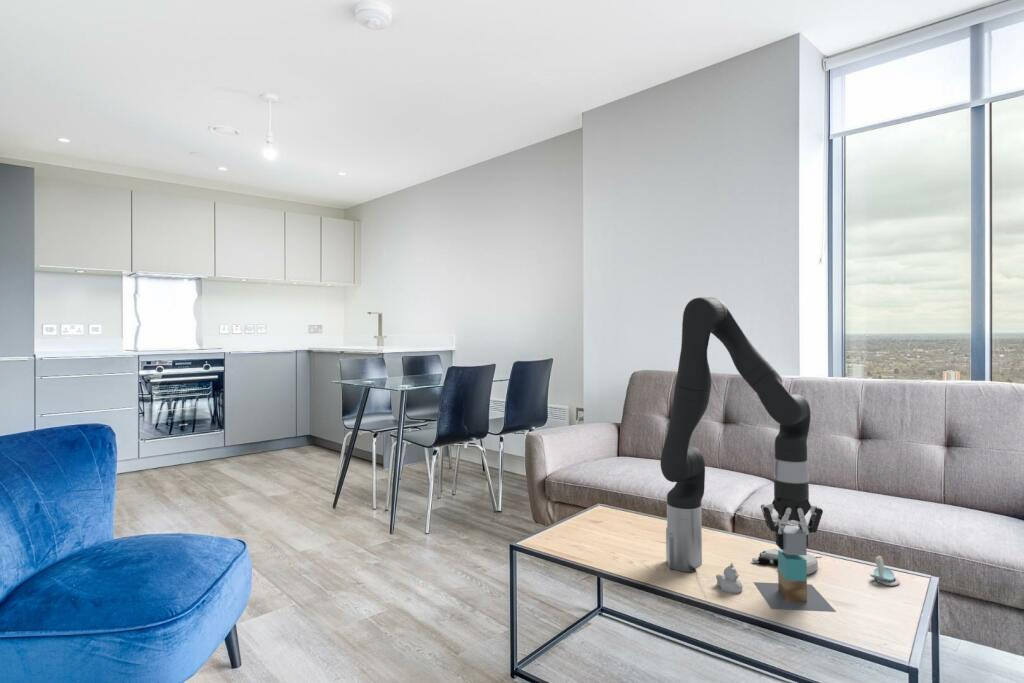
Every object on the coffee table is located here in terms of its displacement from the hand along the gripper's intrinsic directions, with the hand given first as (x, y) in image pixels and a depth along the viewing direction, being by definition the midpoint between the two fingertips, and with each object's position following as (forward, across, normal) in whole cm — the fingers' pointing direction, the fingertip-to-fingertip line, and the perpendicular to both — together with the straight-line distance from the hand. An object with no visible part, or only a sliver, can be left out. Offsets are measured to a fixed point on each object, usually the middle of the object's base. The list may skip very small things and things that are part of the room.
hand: (791, 548), depth 136 cm
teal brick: (+7, 0, 0) cm, 7 cm away
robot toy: (+13, +5, +19) cm, 24 cm away
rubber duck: (+13, -14, +3) cm, 19 cm away
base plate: (+13, 0, 0) cm, 13 cm away
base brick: (+12, 0, 0) cm, 12 cm away
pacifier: (+13, +28, +14) cm, 34 cm away
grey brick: (0, 0, 0) cm, 0 cm away
